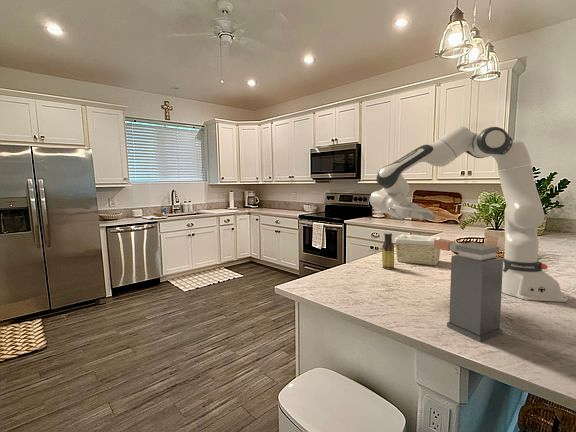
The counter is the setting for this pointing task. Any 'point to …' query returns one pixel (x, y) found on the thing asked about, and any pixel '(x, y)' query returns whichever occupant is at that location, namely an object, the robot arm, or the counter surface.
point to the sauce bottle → (388, 252)
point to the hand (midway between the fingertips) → (429, 218)
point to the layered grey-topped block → (468, 249)
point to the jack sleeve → (476, 297)
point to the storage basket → (417, 249)
